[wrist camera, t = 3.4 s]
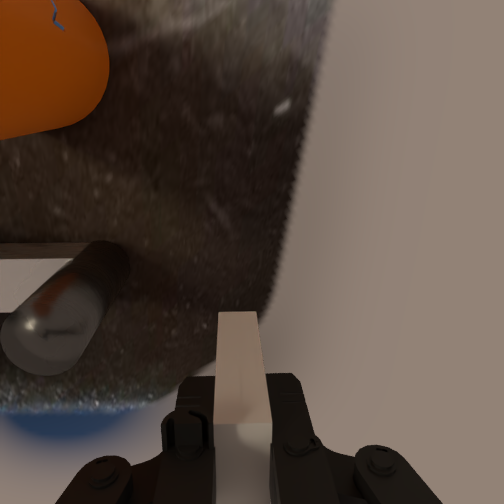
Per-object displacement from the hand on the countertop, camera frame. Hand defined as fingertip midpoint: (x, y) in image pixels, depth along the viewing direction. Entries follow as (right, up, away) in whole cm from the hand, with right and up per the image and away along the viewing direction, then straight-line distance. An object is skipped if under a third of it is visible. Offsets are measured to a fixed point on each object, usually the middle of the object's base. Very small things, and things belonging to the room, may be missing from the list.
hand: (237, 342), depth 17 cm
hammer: (-17, +3, +8) cm, 19 cm away
